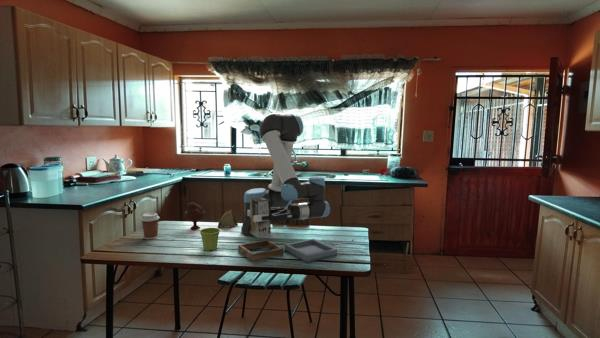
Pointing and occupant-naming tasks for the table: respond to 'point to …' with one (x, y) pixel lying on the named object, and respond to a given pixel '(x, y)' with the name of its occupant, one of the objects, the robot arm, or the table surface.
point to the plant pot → (210, 238)
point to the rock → (228, 220)
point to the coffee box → (259, 208)
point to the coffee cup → (150, 225)
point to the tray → (310, 250)
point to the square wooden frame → (261, 255)
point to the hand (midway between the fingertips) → (250, 215)
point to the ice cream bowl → (194, 214)
